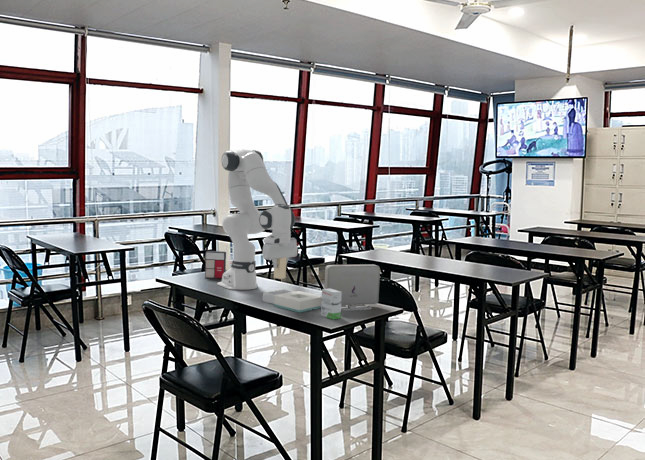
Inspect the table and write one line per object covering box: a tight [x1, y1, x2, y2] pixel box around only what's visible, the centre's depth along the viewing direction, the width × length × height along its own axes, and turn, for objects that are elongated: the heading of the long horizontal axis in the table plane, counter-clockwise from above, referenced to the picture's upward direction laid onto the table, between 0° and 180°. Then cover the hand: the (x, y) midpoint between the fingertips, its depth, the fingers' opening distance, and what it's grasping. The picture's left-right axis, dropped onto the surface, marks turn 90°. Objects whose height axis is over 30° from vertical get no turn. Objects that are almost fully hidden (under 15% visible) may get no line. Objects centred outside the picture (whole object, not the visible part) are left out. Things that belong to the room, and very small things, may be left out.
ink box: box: [320, 288, 342, 320], centre depth 256 cm, size 9×5×12 cm, turn 37°
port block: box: [273, 290, 322, 313], centre depth 273 cm, size 16×16×5 cm
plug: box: [273, 257, 287, 280], centre depth 283 cm, size 4×4×10 cm
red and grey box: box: [204, 250, 227, 280], centre depth 335 cm, size 11×4×15 cm, turn 88°
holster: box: [262, 288, 295, 305], centre depth 284 cm, size 8×14×4 cm, turn 138°
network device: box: [323, 263, 381, 312], centre depth 274 cm, size 26×9×20 cm, turn 108°
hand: (279, 267), depth 283 cm, fingers closed on plug, 4 cm apart
